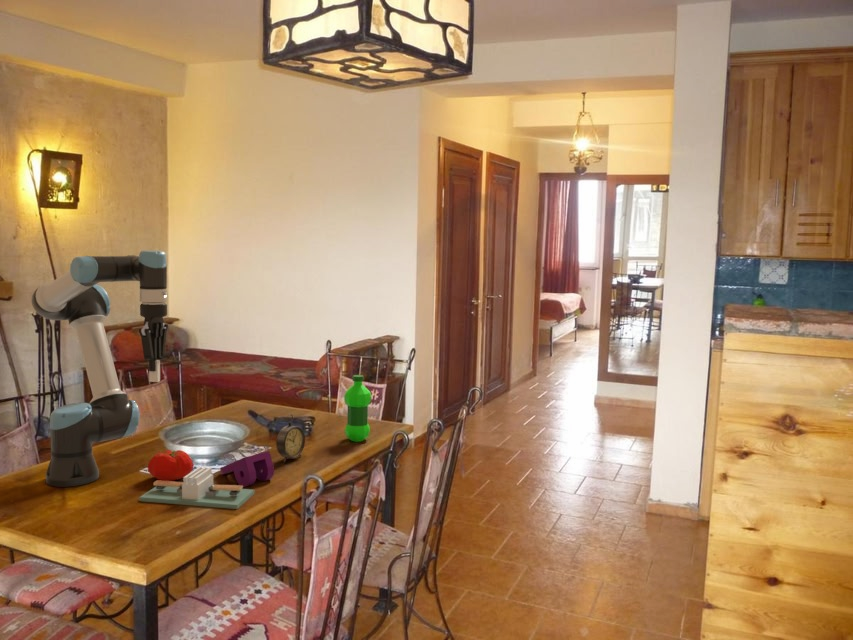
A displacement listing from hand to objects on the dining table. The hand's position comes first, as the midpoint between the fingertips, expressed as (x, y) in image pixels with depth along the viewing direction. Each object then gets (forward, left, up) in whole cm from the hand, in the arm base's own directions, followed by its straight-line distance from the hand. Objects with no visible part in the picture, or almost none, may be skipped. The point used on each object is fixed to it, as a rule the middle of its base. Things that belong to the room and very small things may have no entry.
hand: (154, 381), depth 221 cm
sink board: (+15, -3, -34) cm, 37 cm away
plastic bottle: (+46, +68, -34) cm, 88 cm away
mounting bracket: (+21, +16, -34) cm, 43 cm away
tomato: (-1, +11, -34) cm, 36 cm away
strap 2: (+24, -3, -31) cm, 39 cm away
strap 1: (+6, -3, -31) cm, 32 cm away
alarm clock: (+29, +38, -34) cm, 59 cm away
